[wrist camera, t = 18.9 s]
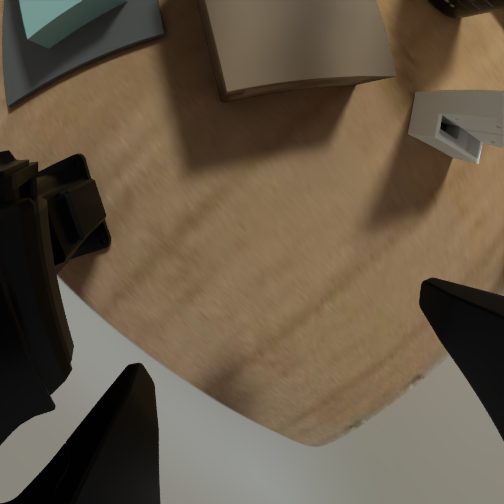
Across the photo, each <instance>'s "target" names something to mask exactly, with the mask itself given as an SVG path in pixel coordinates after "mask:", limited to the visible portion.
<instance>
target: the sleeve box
mask: <svg viewBox="0 0 504 504" xmlns="http://www.w3.org/2000/svg"><path fill="white" fill-rule="evenodd" d="M197 2H198V6H199V11H200V15H201V19H202V23H203V27H204V32H205V36H206V40H207V44H208V48H209V53H210V57H211V61H212V65H213V69H214V74H215V78H216V82H217V86H218V91H219V95H220V99H221V103H223V102H228V101H233V100H237V99H242V98H248V97H253V96H259V95H265V94H271V93H277V92H284V91H291V90H299V89H308V88H318V87H329V86H344V85H358V84H362V83H367V82H371V81H376V80H381V79H386V78H391V77H397V73H396V69H395V64H394V60H393V56H392V52H391V48H390V44H389V40H388V37H387V33H386V30H385V26H384V23H383V20H382V17H381V14H380V11H379V8H378V5H377V2H376V0H197Z"/></svg>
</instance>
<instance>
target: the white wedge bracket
mask: <svg viewBox="0 0 504 504" xmlns="http://www.w3.org/2000/svg"><path fill="white" fill-rule="evenodd" d="M441 122H443V123H444V124H446V125H447V126H446V131H445V132H444V131H443V130H441V129H440V127H441ZM408 135H410V136H412V137H415V138H417V139H419V140H421V141H423V142H424V143H426V144H428V145H430V146H432V147H434V148H436V149H438V150H440V151H441V152H443V153H445V154H447V155H449V156H450V157H452V158H455V159H460V160H464V161H468V162H472V163H475V164H479V159H480V154H481V148H482V143H483V144H488V145H493V146H497V147H502V148H504V91H494V90H440V91H422V92H415V97H414V103H413V109H412V114H411V120H410V125H409V130H408Z"/></svg>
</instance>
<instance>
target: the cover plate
mask: <svg viewBox="0 0 504 504" xmlns="http://www.w3.org/2000/svg"><path fill="white" fill-rule="evenodd" d="M127 1H128V0H19V3H20V8H21V13H22V18H23V23H24V27H25V32H26V36H27V39H28V40H30V41H32V42H35V43H37V44H39V45H41V46H44V47H46V48H48V49H50V48H51V47H52V46H54V45H55V44H57V43H58V42H59V41H61V40H62V39H64V38H65V37H67V36H68V35H70V34H71V33H73V32H74V31H76V30H77V29H79V28H80V27H82V26H83V25H85V24H87V23H88V22H90V21H92V20H93V19H95V18H97V17H99V16H100V15H102V14H104V13H106V12H108V11H109V10H111V9H113V8H115V7H117V6H119V5H121V4H123V3H125V2H127Z"/></svg>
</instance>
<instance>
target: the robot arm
mask: <svg viewBox="0 0 504 504" xmlns="http://www.w3.org/2000/svg"><path fill="white" fill-rule="evenodd" d="M77 158H78V159H79V160H80V164H79V165H77V164H76V159H77ZM105 217H106V213H105V210H104V207H103V204H102V201H101V198H100V195H99V192H98V189H97V186H96V183H95V180H93V179H91V176H90V173H89V170H88V166H87V163H86V159H85V157H84V155H82V154H75V155H73V156H70V157H68V158H66V159H64V160H62V161H60V162H58V163H56V164H53V165H51V166H49V167H47V168H45V169H43V170H41V171H40V172H38V162H30V163H29V160H16V159H15V158H14V156H13V155H12V154H11V152H10V151H9V150H8V151H2V152H0V445H1V444H2V443H3V442H4V441H5V440H6V438H7V437H8V436H9V435H10V434H11V433H12V432H13V431H14V430H15V429H16V428H17V427H18V426H20V425H21V424H22V423H24V422H26V421H27V420H29V419H31V418H33V417H34V416H37V415H40V414H43V413H47V412H50V411H53V410H54V409H55V404H54V402H53V400H52V398H51V396H50V395H51V394H52V393H53V392H54V391H55V390H56V389H57V388H58V387H59V386H60V385H61V384H62V383H63V382H64V381H65V380H66V379H67V377H68V375H69V374H70V372H71V371H72V367H71V364H70V363H71V360H72V354H73V347H74V345H73V341H72V338H71V334H70V331H69V327H68V323H67V319H66V315H65V312H64V308H63V303H62V299H61V294H60V290H59V285H58V280H57V274H58V272H59V271H60V270H61V269H62V268H63V267H64V265H65V264H66V263H67V262H68V261H69V260H70V259H72V258H75V257H78V256H81V255H84V254H87V253H90V252H94V251H97V250H100V249H103V248H106V247H108V245H109V244H110V243H111V236H110V233H109V230H108V228H107V225H106V222H105ZM101 237H104V238H105V239H106V242H103V241H102V240H101ZM419 305H420V308H421V310H422V311H423V313H424V315H425V316H426V318H427V320H428V321H429V323H430V325H431V326H432V328H433V330H434V331H435V333H436V335H437V337H438V338H439V340H440V341H441V343H442V344H443V346H444V347H445V349H446V350H447V351H448V353H449V354H450V356H451V357H452V359H454V361H455V363H456V364H457V366H458V367H459V368H460V370H461V371H462V373H463V374H464V376H465V378H466V379H467V380H468V382H469V384H470V385H471V387H472V388H473V390H474V391H475V393H476V394H477V396H478V397H479V399H480V401H481V402H482V404H483V405H484V407H485V409H486V411H487V412H488V414H489V416H490V417H491V419H492V421H493V422H494V424H495V426H496V428H497V429H498V431H499V433H500V435H501V437H502V439H503V441H504V296H502V295H498V294H494V293H490V292H487V291H483V290H479V289H475V288H472V287H468V286H464V285H460V284H456V283H453V282H449V281H445V280H441V279H437V278H429V279H427V280H424V281H423V282H422V284H421V290H420V299H419ZM156 408H157V407H156V396H155V386H154V382H153V381H152V378H151V377H150V375H149V374H148V372H147V371H146V369H145V367H144V366H143V365H142V364H141V363H135V364H130V365H128V366H127V367H126V368H125V369H124V370H123V372H122V373H121V374H120V375H119V377H118V378H117V379H116V380H115V381H114V383H113V384H112V385H111V386H110V388H109V389H108V390H107V391H106V392H105V394H104V395H103V396H102V397H101V399H100V400H99V401H98V402H97V404H96V405H95V406H94V407H93V408H92V410H91V411H90V412H89V414H88V415H87V416H86V417H85V419H84V420H83V421H82V422H81V424H80V425H79V426H78V427H77V428H76V430H75V431H74V432H73V434H72V435H71V436H70V437H69V439H68V440H67V441H66V443H65V444H64V445H63V446H62V447H61V449H60V450H59V451H58V452H57V454H56V455H55V456H54V457H53V459H52V460H51V461H50V462H49V463H48V465H47V466H46V467H45V468H44V469H43V470H42V471H41V472H40V473H39V475H37V477H36V478H35V479H34V480H33V481H32V482H31V483H30V484H29V485H28V486H27V487H26V488H25V489H24V490H23V491H22V493H20V494H19V495H18V496H17V497H16V498H15V499H13V500H11V501H8V502H5V503H0V504H160V486H159V428H158V418H157V409H156Z"/></svg>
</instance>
